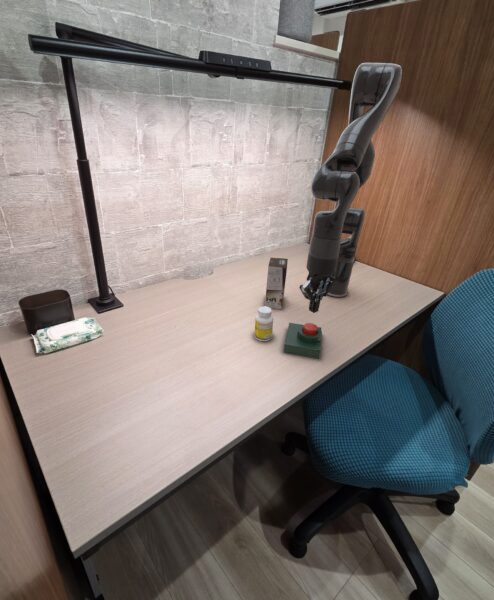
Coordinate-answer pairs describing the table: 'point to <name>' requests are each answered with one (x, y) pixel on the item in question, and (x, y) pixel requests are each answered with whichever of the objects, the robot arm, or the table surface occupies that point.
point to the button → (310, 329)
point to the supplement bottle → (264, 324)
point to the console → (302, 342)
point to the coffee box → (276, 282)
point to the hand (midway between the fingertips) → (313, 311)
